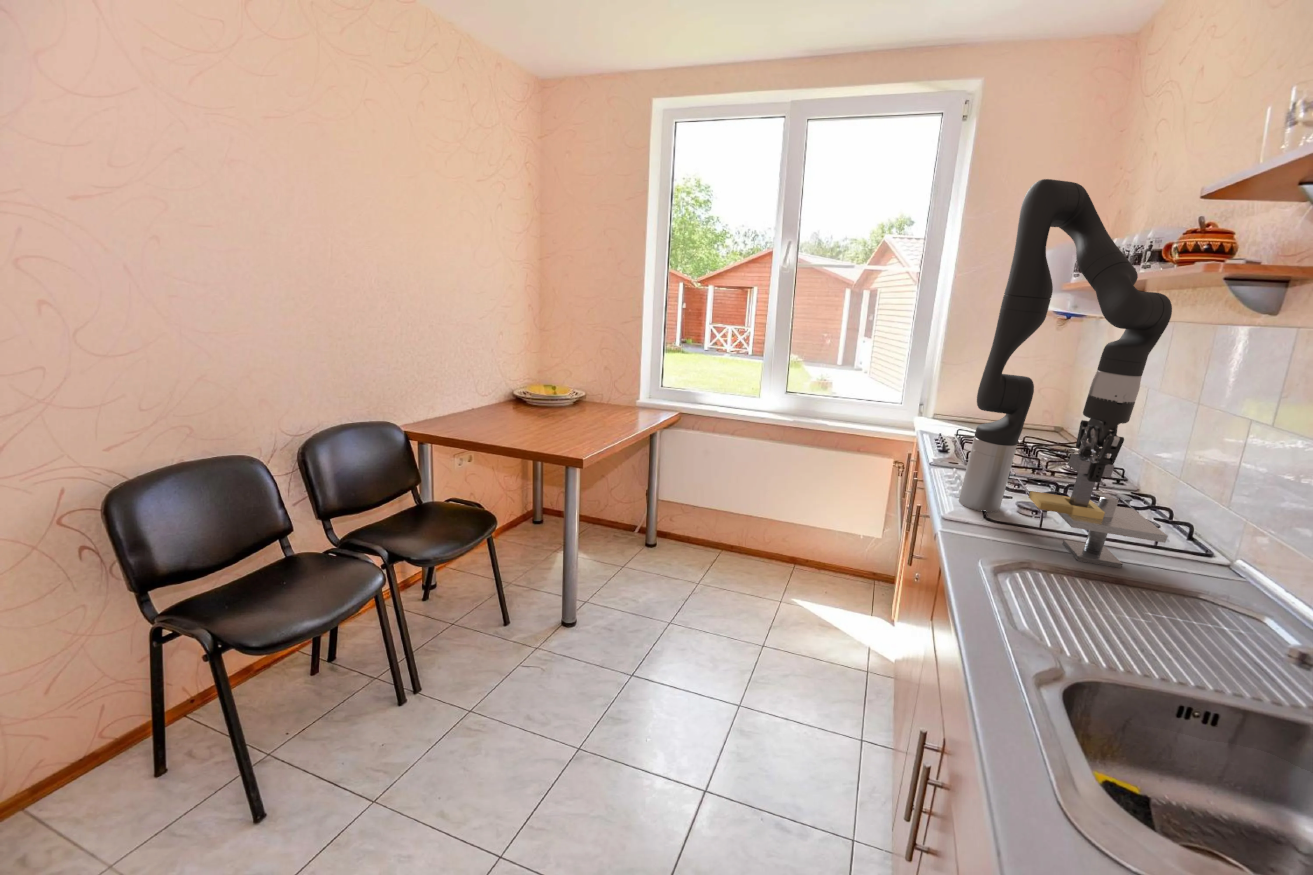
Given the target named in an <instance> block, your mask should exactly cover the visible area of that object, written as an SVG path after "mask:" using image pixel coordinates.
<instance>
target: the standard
mask: <svg viewBox="0 0 1313 875" xmlns="http://www.w3.org/2000/svg"><path fill="white" fill-rule="evenodd" d="M1093 503H1094V504H1095V505H1097V506H1098V507H1099V508H1100V509H1101V510H1102V511H1104V512H1105V514H1104V517H1103V519H1097V518H1090V517H1084V516H1078V515H1072V514H1066V513H1059V512H1056V513H1057V514H1058V515H1059V516H1060V518H1062V519H1063V520H1064V521H1065V522H1066V523H1067V524H1068V525H1069V527H1071V528H1075V529H1078V530H1079V529H1081V530H1084V531H1085V530H1086V531H1088V535H1087V538H1086V540H1085V542H1079V541H1072V540H1066V539H1063V541H1062V546H1063V547H1064V548H1065V549H1066V550H1067V551H1068V552H1069V553H1070V555H1071V556H1073V558H1074V559H1075V561H1079V562H1084V563H1088V564H1095V565H1101V566H1105V567H1106V566H1107V567H1111V568H1118V569H1122V568H1123V565H1124V564H1123V562H1121V561H1120V559H1119V558H1117V556H1115V554H1114V553H1112V551H1110V550H1109V549H1108V548H1107V547H1106V546H1104V545H1105V543H1106V540H1107V536H1108V534H1110V535H1115V536H1121V537H1127V538H1135V539H1140V540H1147V541H1152V542H1157V543H1158V542H1159V543H1164V544H1165V543H1167V540H1168V537H1169V535H1168V534H1166V532H1163V531H1162V530H1161V529H1160V528H1158V526H1156V525H1155V524H1153V523H1152V522H1150V520H1149V519H1147V518H1146V517H1144V516H1143V515H1141V514H1140V513H1139V512H1138V511H1136V510H1135V509H1134V508H1131V507H1126V506H1125V507H1124V506H1118V504H1119V499H1117V498H1115V497H1112V496H1108V495H1100V496H1099V500H1098V502H1093Z"/></svg>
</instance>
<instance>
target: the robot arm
mask: <svg viewBox="0 0 1313 875" xmlns="http://www.w3.org/2000/svg"><path fill="white" fill-rule="evenodd" d="M1051 228H1059V229H1061V230H1062V231H1063V232H1064V233H1066V235H1068V236H1069V237H1070V239H1071V240H1072V241H1073V243H1074V246H1075V250H1076V252H1075V253H1076V254H1075V255H1076V256H1075V257H1076V262H1077V266H1078V269H1079V271H1080V273H1081V274H1082V275H1083V277H1084V278H1085V280H1086V281H1087V283H1088V284H1089V285H1090V286H1091V288H1092V290H1094V291H1095V293H1096V294H1095V295H1096V298H1097V299H1096V300H1097V301H1098V305H1099V308H1100V311H1101V313H1102V315H1103V318H1104V319H1105V320H1106V321H1107V322H1108V323H1109V324H1111V325H1112V327H1115V328H1118V329H1122V330H1124V332H1123V333H1122V335H1121V336H1120V338H1118V339H1117V340H1114V341H1110V342H1108V343H1106V344H1105V346H1104V348H1103V350H1102V352H1101V355H1100V359H1099V362H1098V365H1097V370H1096V372H1095V375H1094V376H1093V379H1092V381H1091V384H1090V387H1089V391H1088V394H1087V398H1086V401H1085V404H1084V408H1083V411H1082V415H1083V416H1084V417H1086V418H1088V419H1089V420H1083V419H1082V420H1081V421H1080V424H1079V429H1078V434H1077V438H1076V444H1075V448H1076V449H1078V450H1077V452H1078V453H1077V454H1081V455H1088V456H1093V458H1092V464H1091V467H1090V470H1089V473H1088V475H1087V480H1088V481H1090V482H1095V483H1100V482H1101V481H1102V478H1103V476H1102V475H1103V472H1104V469H1105V466H1106V465H1114V464H1115V463H1116V459H1117V458H1118V455H1119V453H1120V450H1121V448H1122V446H1123V444H1124V441H1125V437H1124V436H1119V435H1117V434H1118V428H1119V425H1120V424H1122V425H1124V424H1127V423H1129V422H1130V419H1131V416H1132V413H1133V411H1134V407H1135V404H1136V400H1137V398H1138V396H1139V395H1138V394H1139V392H1140V387H1141V381H1142V376H1143V373H1144V370H1145V367H1146V364H1147V361H1148V357H1149V355H1150V353H1151V352H1152V350H1154V348H1155V346H1156V345H1157V343H1158V342H1159V340H1160V339H1161V337H1162V335H1163V334H1164V332H1165V330H1166V329H1167V327H1168V325H1169V323H1170V321H1171V318H1172V313H1173V307H1172V306H1173V305H1172V302H1171V299H1170V298H1169V297H1168V296H1166V294H1163V293H1160V292H1152V291H1141V290H1138V289H1137V288H1136V287H1135V284H1136V283H1137V280H1138V278H1139V275H1138V271H1137V269H1136V268H1135V267H1134V265H1133V264H1132V263H1131V261H1129V259H1128V258H1127V256H1125V253H1123V252H1122V250H1121V249H1120V248H1119V246H1117V244H1116V243H1115V241H1114V240H1113V238H1112V237H1111V236H1110V234H1109V233H1108V231H1107V229H1106V227H1105V226H1104V223H1103V220H1102V219H1101V218H1100V216H1099V214H1098V211H1097V210H1096V207H1095V204H1094V202H1093V201H1092V198H1091V197H1090V195H1089V193H1088V191H1087V190H1086V189H1085V187H1084V186H1082V185H1081V184H1080V183H1078V182H1073V181H1068V180H1067V181H1066V180H1060V179H1058V180H1057V179H1049V178H1047V179H1046V178H1043V179H1040V180H1037V181H1036V182H1034V183H1033V184H1032V185H1031V186H1030V187H1029V189H1028V190H1027V192H1026V194H1025V195H1024V198H1023V200H1022V203H1021V207H1020V211H1019V218H1018V224H1017V233H1016V238H1015V244H1014V251H1013V256H1012V262H1011V265H1010V271H1009V274H1008V279H1007V282H1006V286H1005V290H1004V293H1003V297H1002V301H1001V305H1000V310H999V314H998V319H997V324H996V328H995V333H994V337H993V341H992V345H991V349H990V351H989V354H988V358H987V360H986V364H985V367H984V369H983V370H984V371H983V373H982V376H981V380H980V382H979V385H978V390H977V394H976V406H977V408H978V409H979V410H981V411H984V412H989V413H990V412H991V413H995V414H996V413H998V414H1005V415H1004V416H1002V417H1001V418H1000V419H997V420H994V421H991V422H985V423H981V424H979V425H978V426H977V427H976V429H975V432H974V435H973V436H974V437H973V440H972V444H971V449H970V453H969V456H968V457H969V458H968V461H967V464H966V469H965V474H964V477H963V482H962V485H961V489H960V494H959V497H958V503H960V505H962V506H964V507H966V508H968V509H972V510H974V511H977V510H978V512H982V511H981V510H986V511H987V512H986V513H993V514H994V513H999V511H1000V510H1001V507H1002V503H1003V498H1004V495H1005V492H1006V488H1007V485H1008V484H1007V483H1008V480H1009V477H1010V473H1011V469H1012V465H1013V461H1014V457H1015V453H1016V450H1017V446H1018V443H1019V439H1020V437H1021V434H1022V432H1023V428H1024V425H1025V421H1026V418H1027V416H1028V413H1029V410H1030V407H1031V404H1032V401H1033V396H1034V393H1035V384H1034V381H1033V379H1032V378H1030V377H1029V376H1024V375H1015V374H1006V373H1003V372H1004V369H1005V366H1006V365H1007V363H1008V361H1009V359H1010V358H1011V357H1012V355H1013V354H1014V352H1016V350H1017V349H1019V347H1020V346H1021V345H1022V344H1023V343H1025V342H1026V341H1027V339H1029V338H1030V337H1031V336H1032V335H1033V334H1034V333H1036V331H1037V330H1038V329H1040V327H1041V326H1042V325H1043V324H1044V321H1045V320H1046V318H1047V316H1048V311H1049V307H1050V304H1051V300H1052V296H1053V290H1054V288H1053V286H1054V284H1053V279H1052V275H1051V270H1050V267H1049V264H1048V258H1047V243H1048V239H1049V235H1050V234H1049V233H1050V230H1051Z"/></svg>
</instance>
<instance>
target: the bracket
mask: <svg viewBox="0 0 1313 875" xmlns="http://www.w3.org/2000/svg"><path fill="white" fill-rule="evenodd" d="M1028 498H1029V499H1030V501H1031V502H1032V503H1033V504H1034V505H1035V506H1036V507H1037V508H1038V510H1040V511H1041V510H1042V511H1043V510H1044V511H1048V512H1053V513H1057V512H1059V513H1066V514H1072V515H1078V516H1084V517H1090V518H1097V519H1103V517H1104V514H1105V512H1104V511H1102V510H1101V509H1100V508H1099V507H1098V506H1097V505H1095V504H1094V503H1095V502H1094V501H1092V500H1091V499H1090V500H1089V504H1088V507H1087V508H1086V507H1079V506H1073V505H1071V504H1069V502H1070V498H1071V496H1065V495H1059V494H1054V493H1048V492H1047V493H1046V492H1041V491H1035V490H1030V492H1029V495H1028Z"/></svg>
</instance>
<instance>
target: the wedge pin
mask: <svg viewBox="0 0 1313 875" xmlns="http://www.w3.org/2000/svg"><path fill="white" fill-rule="evenodd" d="M1092 458H1093V455H1091V456H1088V455H1081V454H1080V453H1073V452H1071V454H1070V456H1069V459H1068V463H1067V465H1068V466H1069V467H1070V468H1072V469H1073V470H1074V471H1075V472H1077V476H1076V479H1075V482H1074V485H1073V488H1072V491H1071V496H1070V497H1071V498H1070V502H1069V504H1071V505H1073V506H1079V507H1086V508H1087V507H1088V504H1089V500H1091V498H1092V494H1093V491H1094V488H1095V485H1096V482H1090V481H1088V480H1087V475H1088V473H1089V470H1090V467H1091V464H1092ZM1114 468H1115V465H1114V464H1113V465H1106V466H1105V469H1104V472H1103V475H1102V477H1105V478H1111V477H1112V474H1113V471H1114Z"/></svg>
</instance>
